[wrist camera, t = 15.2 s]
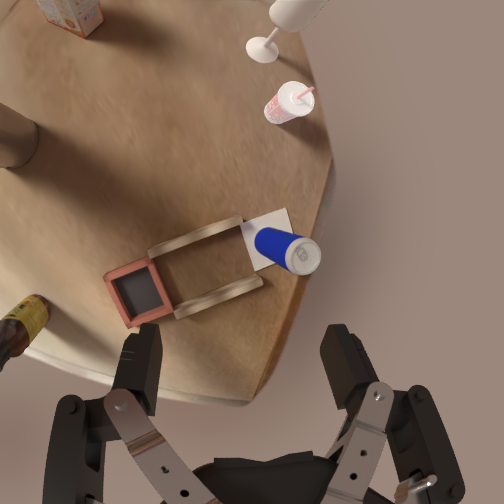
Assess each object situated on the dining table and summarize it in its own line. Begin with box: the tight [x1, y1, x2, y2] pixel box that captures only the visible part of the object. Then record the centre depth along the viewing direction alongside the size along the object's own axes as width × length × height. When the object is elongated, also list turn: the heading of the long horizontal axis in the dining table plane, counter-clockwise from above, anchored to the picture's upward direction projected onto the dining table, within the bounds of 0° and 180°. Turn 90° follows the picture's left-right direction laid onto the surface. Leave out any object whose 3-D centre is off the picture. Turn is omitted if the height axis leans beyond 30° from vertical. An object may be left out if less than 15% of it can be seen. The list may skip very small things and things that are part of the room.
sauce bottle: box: [0, 294, 50, 372], centre depth 31 cm, size 6×6×20 cm
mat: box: [240, 208, 293, 271], centre depth 51 cm, size 9×9×1 cm
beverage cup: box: [264, 81, 314, 124], centre depth 40 cm, size 6×6×14 cm
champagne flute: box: [246, 0, 329, 63], centre depth 32 cm, size 7×7×24 cm
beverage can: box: [254, 227, 321, 275], centre depth 43 cm, size 5×5×15 cm
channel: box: [148, 215, 264, 320], centre depth 46 cm, size 16×12×4 cm
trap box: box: [103, 256, 174, 329], centre depth 44 cm, size 9×10×2 cm
